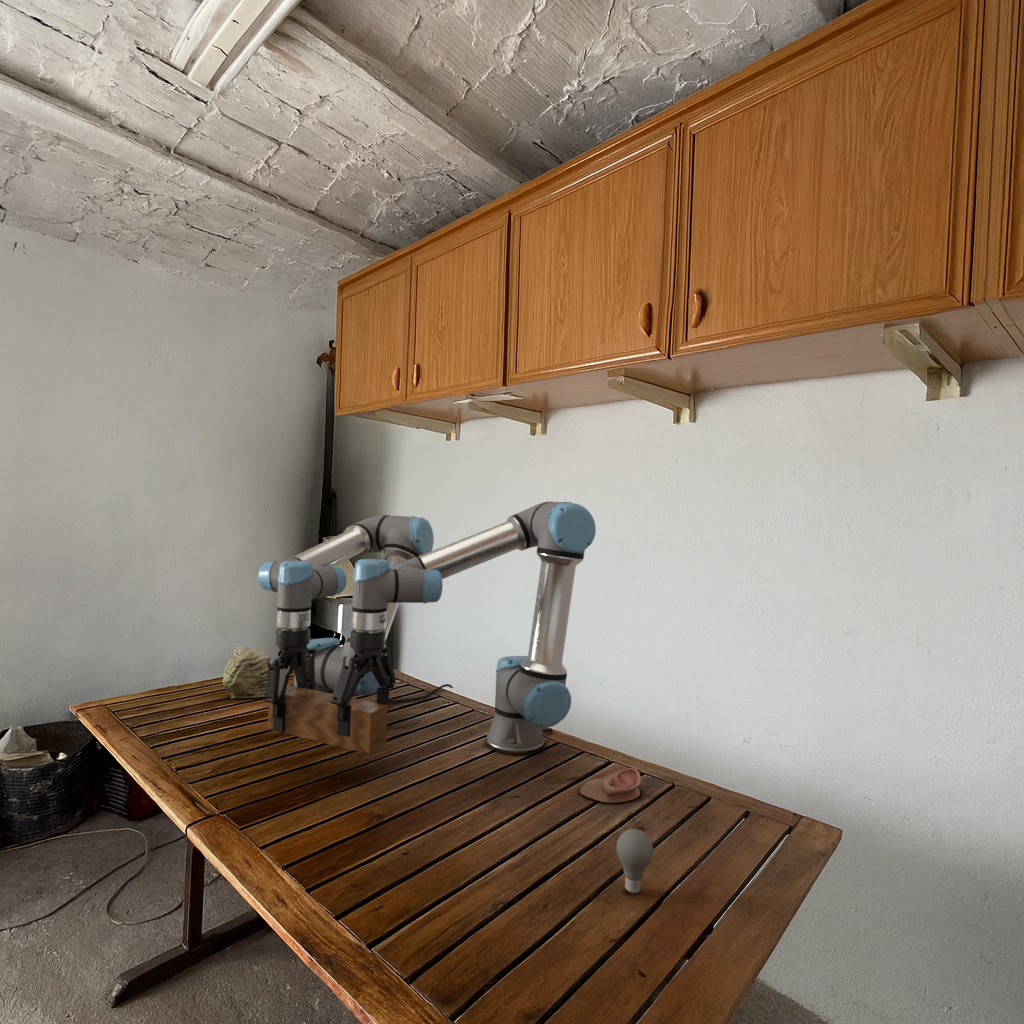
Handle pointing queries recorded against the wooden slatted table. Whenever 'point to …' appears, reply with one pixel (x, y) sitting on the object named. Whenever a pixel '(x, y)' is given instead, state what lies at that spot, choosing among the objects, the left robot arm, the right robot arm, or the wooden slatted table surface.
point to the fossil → (246, 673)
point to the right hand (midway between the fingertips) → (363, 725)
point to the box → (332, 720)
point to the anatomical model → (614, 787)
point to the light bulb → (634, 857)
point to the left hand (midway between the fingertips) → (289, 725)
